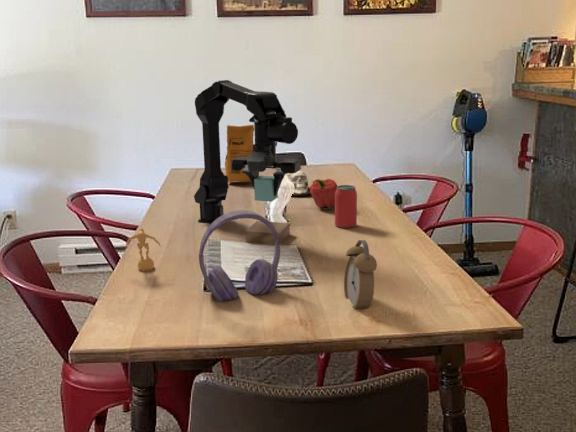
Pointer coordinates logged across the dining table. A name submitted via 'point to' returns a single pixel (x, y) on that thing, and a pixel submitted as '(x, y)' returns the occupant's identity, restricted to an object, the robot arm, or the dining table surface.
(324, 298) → the dining table surface
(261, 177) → the teal block
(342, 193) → the beer can
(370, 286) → the alarm clock
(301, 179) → the skull
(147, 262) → the figurine
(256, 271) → the headphones
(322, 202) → the vegetable
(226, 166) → the coffee package
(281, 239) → the walnut block
